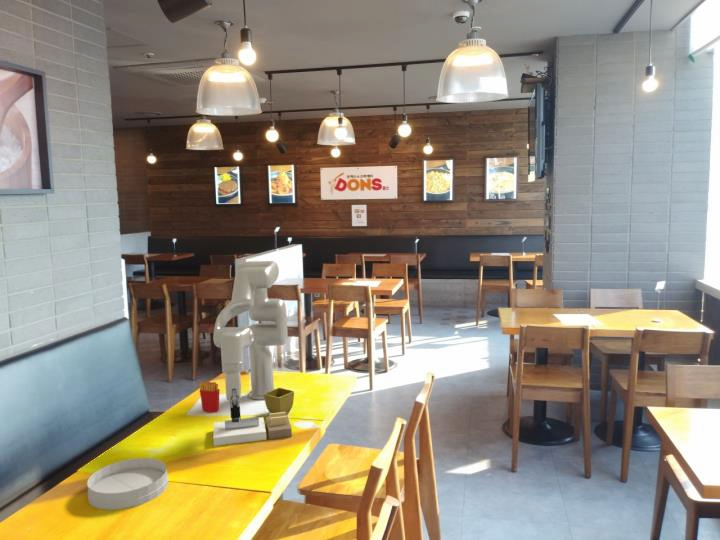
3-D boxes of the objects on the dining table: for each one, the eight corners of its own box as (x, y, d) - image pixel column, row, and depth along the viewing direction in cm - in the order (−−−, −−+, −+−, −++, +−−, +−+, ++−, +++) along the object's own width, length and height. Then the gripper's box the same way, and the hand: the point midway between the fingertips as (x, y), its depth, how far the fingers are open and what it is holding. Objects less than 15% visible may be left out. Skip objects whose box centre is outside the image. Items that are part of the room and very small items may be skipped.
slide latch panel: (214, 430, 211) (213, 415, 210) (287, 422, 217) (286, 407, 216) (213, 446, 197) (212, 430, 197) (291, 436, 203) (291, 420, 203)
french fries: (222, 409, 232) (220, 381, 231) (217, 413, 229) (215, 384, 227) (203, 408, 235) (201, 379, 233) (198, 411, 231) (196, 382, 230)
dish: (143, 466, 184) (142, 451, 184) (183, 486, 170) (182, 470, 170) (73, 494, 167) (72, 478, 167) (111, 519, 153) (109, 502, 153)
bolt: (225, 426, 206) (223, 407, 205) (258, 422, 209) (257, 403, 208) (225, 430, 203) (223, 410, 202) (259, 426, 206) (258, 406, 205)
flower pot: (279, 420, 219) (278, 397, 218) (264, 415, 224) (262, 393, 223) (295, 413, 226) (294, 391, 225) (280, 408, 231) (279, 387, 230)
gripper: (222, 361, 210) (224, 406, 212) (221, 374, 193) (224, 422, 195) (242, 359, 212) (245, 404, 214) (244, 371, 195) (246, 420, 197)
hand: (235, 413), depth 204 cm, fingers open, 9 cm apart
